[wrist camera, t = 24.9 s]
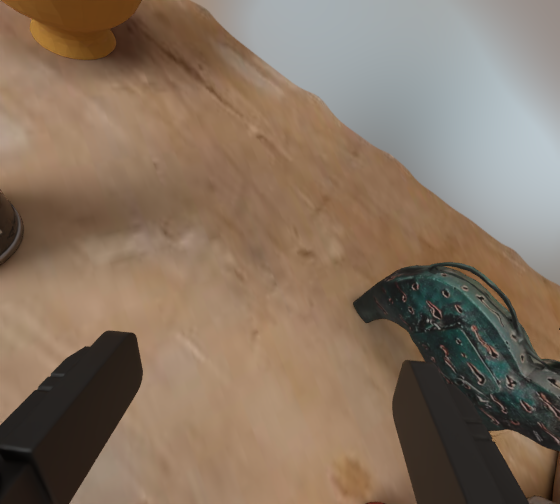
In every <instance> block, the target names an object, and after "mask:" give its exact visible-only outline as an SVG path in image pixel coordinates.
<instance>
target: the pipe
mask: <svg viewBox="0 0 560 504" xmlns="http://www.w3.org/2000/svg"><path fill="white" fill-rule="evenodd" d="M526 499H527V500H528V502H529V504H560V451H559V454H558V459H557V468H556V474H555V480H554V486H553V499H552V501H549V500H548V499H546V498H543V497H541V496H535V495H534V496H532V497H530V498H526Z"/></svg>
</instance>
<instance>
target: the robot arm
mask: <svg viewBox="0 0 560 504" xmlns="http://www.w3.org/2000/svg"><path fill="white" fill-rule="evenodd" d="M22 237H23V222H22V219H21V217H20V215H19V213H18V212H17V211H16V209H15V208H14V206H13V205H12V204H11V203H10V202H9V200H7V198H6V197H5V195H4V194H3V192H2V191H1V189H0V264H2V263H3V262H4V261H6V260H7V259H8V258H9V257H10V256H11V255H12V254H13V253H14V252H15V251H16V249H17V248H18V246H19V244H20V242H21V240H22ZM142 376H143V370H142V364H141V359H140V353H139V348H138V342H137V338H136V335H135V334H134V333H129V332H119V331H106V332H104V333H103V334H102V335H101V336H100V337H99V338H98V339H97V340H96V341H95V342H94V344H93V345H92V346H91V347H86V346H85V347H84V348H82V349H81V350H79V351H77V352H76V353H74V354H73V355H71V356H69V357H68V358H66V359H65V360H64V361H63V362H62V363H61V364H60V365H59V366H58V367H57V368H56V369H55V370H54V371H53V372H52V373H51V376H50V377H47V378H46V379H45V381H44V382H43V383H42V384H41V385H40V386H39V387H38V390H35V391H34V392H33V393H32V394H31V395H30V396H29V397H28V398H27V399H26V400H25V401H24V402H23V403H22V404H21V405H20V406H19V407H18V408H17V409H16V410H15V411H14V412H13V413H12V414H11V415H10V416H9V417H8V418H7V419H6V420H5V421H4V422H3V423H2V424H1V425H0V504H69V503H70V501H71V500H72V498H73V496H74V495H75V493H76V491H77V490H78V488H79V487H80V485H81V483H82V482H83V480H84V478H85V477H86V475H87V474H88V472H89V470H90V469H91V467H92V465H93V464H94V462H95V460H96V459H97V457H98V456H99V454H100V452H101V451H102V449H103V447H104V446H105V444H106V442H107V441H108V439H109V438H110V436H111V434H112V433H113V431H114V429H115V428H116V426H117V425H118V423H119V421H120V420H121V418H122V416H123V415H124V413H125V411H126V410H127V408H128V407H129V405H130V403H131V402H132V400H133V398H134V397H135V395H136V393H137V392H138V390H139V387H140V385H141V381H142ZM392 410H393V418H394V422H395V426H396V430H397V433H398V437H399V440H400V444H401V447H402V451H403V455H404V458H405V462H406V465H407V469H408V473H409V476H410V480H411V483H412V487H413V491H414V494H415V498H416V501H417V504H529V502H528V500H527V499H526V497H525V495H524V493H523V492H522V490H521V488H520V486H519V485H518V483H517V481H516V479H515V477H514V476H513V474H512V472H511V470H510V469H509V467H508V465H507V463H506V462H505V460H504V458H503V456H502V454H501V453H500V451H499V449H498V447H497V446H496V444H495V442H493V441H492V437H491V435H490V433H489V431H488V430H487V428H486V426H485V425H483V423H482V419H481V417H480V416H479V414H478V412H477V410H476V409H475V407H474V405H473V403H472V401H471V400H470V399H469V398H468V397H467V396H466V395H465V394H464V393H463V392H462V391H461V390H460V389H459V388H458V387H457V386H456V385H455V384H446V383H445V382H444V380H443V378H442V376H441V374H440V372H439V370H438V368H437V366H436V365H435V364H434V363H431V362H421V361H410V360H405V361H404V362H403V364H402V368H401V371H400V375H399V378H398V382H397V385H396V389H395V392H394V396H393V403H392Z"/></svg>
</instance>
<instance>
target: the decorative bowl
mask: <svg viewBox="0 0 560 504" xmlns="http://www.w3.org/2000/svg"><path fill="white" fill-rule="evenodd" d="M1 1H3V2H4V3H5V4H7V5H8V6H10V7H11V8H13V9H15V10H16V11H18V12H19V13H21V14H23V15H25V16H27V17H30V18H32V21H31V24H30V31H31V33H32V35H33V37H34V39H35V40H36V41H37V42H38V43H39V44H40V45H42V46H43V47H44V48H46V49H47V50H49V51H51V52H53V53H56V54H58V55H61V56H64V57H68V58H72V59H82V60H91V59H98V58H102V57H105V56H107V55H108V54H109V53H111V52H112V51H113V50H114V49H115V46H116V39H115V36H114V34H113V33H112V31H111V30H110V28H113V27H116V26H118V25H119V24H121V23H123V22H125V21H126V20H127V19H129V18H130V17H131V16H132V15H133V14H134V13H135V11H136V10H137V8H138V6H139V5H140V3H141V1H142V0H1Z"/></svg>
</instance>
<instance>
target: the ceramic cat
mask: <svg viewBox="0 0 560 504" xmlns="http://www.w3.org/2000/svg"><path fill="white" fill-rule="evenodd" d="M444 266H452V267H457V268H460V269H464V270H467V271H470V272H471V273H473V274H475V275H477V276H478V277H480V278H481V279H482V280H483V281H484V282H485V283H487V284H488V285H489V286H490V287H491V288H492V289H493V290H494V291H496V292H497V293H498V295H499V296H500V297H501V298H502V299H503V300H504V302H505V303H506V305H507V307H508V308H509V311H510V312H509V311H508V310H507V309H506V308H505V307H504V306H502V305H501V304H500V303H499V302H498V301H497V300H496V299H495V298H494V297H493V296H492V295H491V294H490V293H489V292H488V290H487V289H486V288H484V287H483V286H482V285H481V284H480V283H479V282H477V281H476V280H474V279H472V278H470V277H468V276H466V275H464V274H463V273H461V272H459V271H457V270H454V269H451V268H447V267H444ZM353 305H354V307H355V309H356V310H357V312H358V314H359V315H360V317H361V318H362V319H363V320H364V321H365V322H366V323H369V322H371V321H373V320H376V319H382V318H384V319H388V320H390V321H393V322H395V323H397V324H398V325H400V326H401V327H403V328H404V329H406V330H407V331H408V332H409V334H410V336H411V338H412V340H413V342H414V343H415V344H416V346H417V347H418V349H419V351H420V353H421V354H422V356H423V358H424V360H425V362H431V363H434V364H435V365H436V366H437V368H438V370H439V372H440V374H441V376H442V378H443V380H444V382H445V383H446V384H455V385H456V386H457V387H458V388H459V389H460V390H461V391H462V392H463V393H464V394H465V395H466V396H467V397H468V398H469V399H470V400H471V401H472V403H473V405H474V407H475V409H476V410H477V412H478V414H479V416H480V417H481V419H482V423H483V425H485V426H486V428H487V430H488V431H499V430H505V429H509V430H513V431H516V432H518V433H520V434H522V435H524V436H526V437H528V438H530V439H532V440H533V441H535V442H537V443H538V444H540V445H542V446H544V447H546V448H549V449H553V450H557V451H560V362H558V361H556V360H551V359H540V358H539V356H538V355H537V353H536V352H535V350H534V349H533V347H532V345H531V343H530V340H529V337H528V335H527V333H526V331H525V330H524V328H523V327H522V325H521V324H520V323H519V322H518V319H517V316H516V312H515V310H514V308H513V307H512V305H511V302H510V300H509V299H508V298H507V296H506V295H505V294H504V293H503V292H502V291H501V290H500V289H499V288H498V287H497V286H496V285H495V284H494V283H493V282H492V281H491V280H490V279H488V278H487V277H486V276H485V275H484V274H482V273H481V272H479V271H478V270H476V269H475V268H473V267H471V266H468V265H465V264H461V263H453V262H444V263H437V264H432V265H428V266H419V265H416V266H409V267H405V268H401V269H399V270H397V271H395V272H394V273H392V274H391V275H389V276H388V277H386V278H385V279H383V280H382V281H380V282H378V283H377V284H376V285H374V286H373V287H372V288H371V289H369V290H368V291H367V292H366V293H364V294H363V295H362V296H361V297H360V298H359V299H357V300H356V301H355V302H354V303H353ZM559 330H560V329H559Z"/></svg>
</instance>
